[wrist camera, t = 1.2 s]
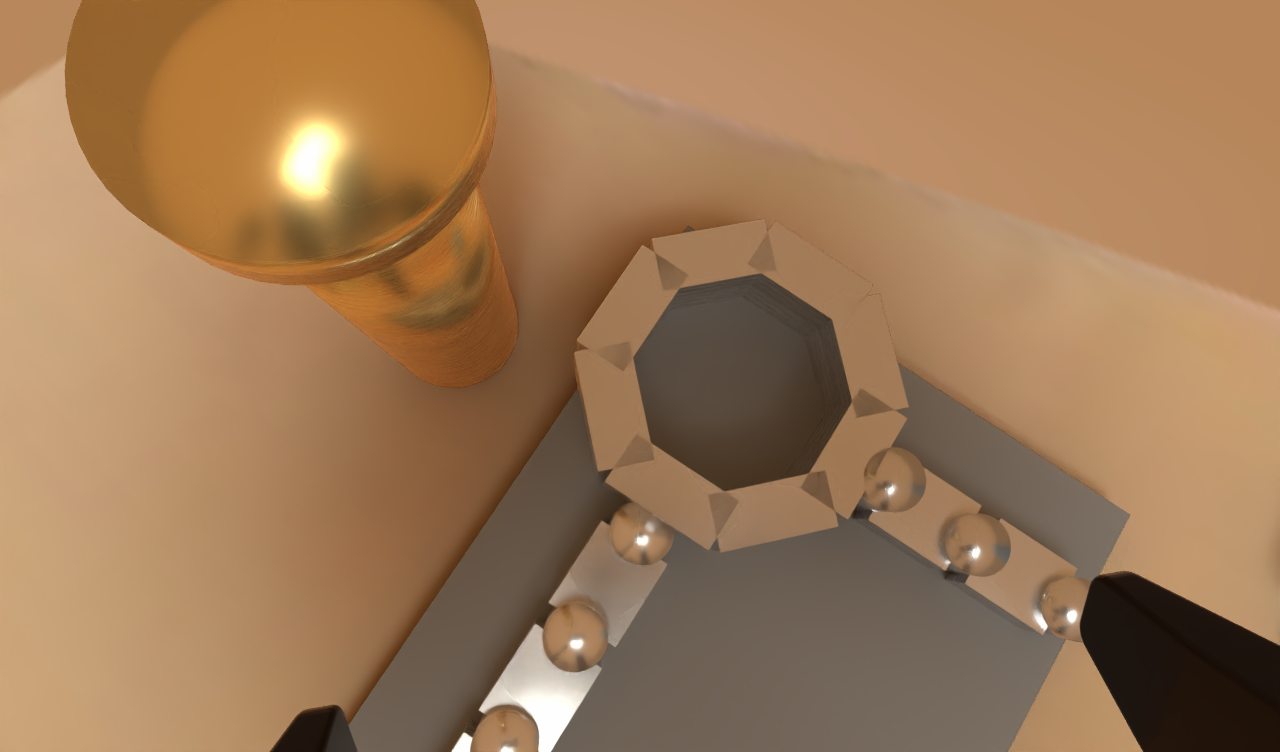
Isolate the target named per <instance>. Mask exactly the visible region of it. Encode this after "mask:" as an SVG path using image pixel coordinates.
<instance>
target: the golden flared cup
mask: <svg viewBox="0 0 1280 752" xmlns="http://www.w3.org/2000/svg"><path fill="white" fill-rule="evenodd" d="M65 86H66V98H67V104H68V109H69V114H70V119H71V123H72V125H73V128H74V131H75V134H76V137H77V140H78V142H79V145H80V147H81V149H82V151H83V153H84V154H85V156H86V158H87V160H88V162H89V164H90V166H91V168H92V169H93V170H94V172H95V173H96V175H97V176H98V177H99V179H100V180H101V181H102V183H103V184H104V185H105V187H106V188H107V189H108V190H109V191H110V192H111V193H112V194H113V196H114V197H115V198H116V199H117V200H118V201H119V202H120V203H121V204H122V205H123V206H124V207H125V208H126V209H128V210H129V211H130V212H131V213H133V214H134V215H135V216H137V217H138V218H139V219H141V220H142V221H143V222H145V223H146V224H147V225H148V226H150V227H152V228H153V229H155V230H156V231H158V232H159V233H161V234H162V235H164V236H165V237H167V238H168V239H170V240H171V241H173V242H174V243H176V244H177V245H179V246H180V247H182V248H183V249H185V250H187V251H188V252H190V253H191V254H193V255H195V256H196V257H198V258H200V259H202V260H203V261H205V262H207V263H209V264H210V265H212V266H215V267H217V268H220V269H222V270H225V271H227V272H229V273H232V274H234V275H238V276H241V277H245V278H249V279H253V280H256V281H260V282H267V283H275V284H282V285H306V286H307V287H308V288H310V289H311V290H312V291H313V292H315V293H316V294H317V295H318V296H319V297H321V298H322V299H323V300H324V301H325V302H327V303H328V304H329V305H330V306H332V307H333V308H334V309H335V310H336V311H338V312H339V313H340V314H341V315H343V316H344V317H345V318H346V319H347V320H349V321H350V322H351V323H352V324H354V325H355V326H356V327H357V328H358V329H360V330H361V331H362V332H363V333H365V334H366V335H367V336H368V337H369V338H371V339H372V340H373V341H374V342H376V343H377V344H378V345H379V346H380V347H382V348H383V349H384V350H385V351H387V352H388V353H389V354H390V355H391V356H393V357H394V358H395V359H396V360H398V361H399V362H400V363H401V364H402V365H404V366H405V367H406V368H407V369H409V370H410V371H411V372H412V373H414V374H415V375H416V376H417V377H419V378H421V379H422V380H424V381H426V382H429V383H431V384H434V385H438V386H442V387H466V386H470V385H474V384H476V383H479V382H481V381H483V380H485V379H487V378H489V377H490V376H492V375H493V374H494V373H496V372H497V371H498V370H499V369H500V368H501V367H502V366H503V365H504V364H505V362H506V361H507V360H508V358H509V356H510V355H511V353H512V351H513V349H514V346H515V343H516V340H517V335H518V316H517V311H516V307H515V304H514V301H513V297H512V294H511V290H510V287H509V284H508V280H507V277H506V274H505V270H504V267H503V264H502V260H501V257H500V254H499V250H498V247H497V244H496V240H495V237H494V233H493V230H492V227H491V223H490V220H489V217H488V213H487V210H486V207H485V203H484V200H483V197H482V193H481V190H480V187H479V183H478V182H479V179H480V177H481V175H482V173H483V171H484V169H485V167H486V164H487V161H488V157H489V154H490V151H491V148H492V144H493V138H494V132H495V126H496V101H497V100H496V92H495V83H494V76H493V71H492V66H491V60H490V55H489V50H488V44H487V39H486V34H485V30H484V27H483V23H482V19H481V16H480V12H479V9H478V7H477V5H476V2H475V0H82V3H81V5H80V7H79V10H78V12H77V14H76V16H75V19H74V22H73V26H72V30H71V34H70V37H69V42H68V46H67V55H66V64H65Z"/></svg>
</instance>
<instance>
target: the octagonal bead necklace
mask: <svg viewBox="0 0 1280 752" xmlns="http://www.w3.org/2000/svg"><path fill="white" fill-rule="evenodd" d="M872 286H873V284H872V283H870V282H869V281H867V280H866V279H864V278H862V277H861V276H859V275H858V274H856V273H855V272H853V271H852V270H850V269H849V268H847V267H846V266H844V265H843V264H841V263H839V262H838V261H836V260H835V259H833V258H832V257H830V256H829V255H827V254H826V253H824V252H823V251H821V250H820V249H818V248H816V247H815V246H813V245H812V244H810V243H809V242H807V241H806V240H804V239H803V238H801V237H800V236H798V235H797V234H795V233H793V232H792V231H790V230H789V229H787V228H786V227H784V226H783V225H781V224H780V223H778V222H777V221H775V223H774V224H773V225H772V227H771V228H770V230H769V231H768V230H767V226H766V222H765V219H760V220H754V221H749V222H743V223H737V224H732V225H726V226H720V227H715V228H709V229H703V230H698V231H692V232H686V233H681V234H675V235H669V236H664V237H658V238H652V239H651V243H650V246H649V249H648V248H647V247H645V246H644V245H642V246H641V247H640V249H639V250H638V252H637V253H636V254H635V256H634V257H633V259H632V260H631V262H630V263H629V265H628V266H627V268H626V269H625V270H624V272H623V273H622V275H621V276H620V278H619V279H618V281H617V282H616V284H615V285H614V286H613V288H612V289H611V291H610V292H609V294H608V295H607V297H606V298H605V300H604V301H603V302H602V304H601V305H600V307H599V308H598V310H597V311H596V313H595V314H594V315H593V317H592V318H591V320H590V321H589V323H588V324H587V326H586V327H585V329H584V330H583V331H582V333H581V334H580V336H579V337H578V339H577V340H576V351H575V352H574V370H575V375H576V380H577V385H578V390H579V395H580V400H581V405H582V410H583V415H584V420H585V425H586V430H587V435H588V440H589V445H590V450H591V455H592V460H593V465H594V470H595V475H599V474H604V473H608V475H607V476H606V478H605V479H604V481H603V483H602V485H603V486H605V487H606V488H608V489H609V490H611V491H612V492H614V493H615V494H617V495H618V496H620V497H622V498H623V499H625V500H626V501H628V502H627V503H625V504H623V505H622V506H620V507H619V508H618V509H617V510H616V511H615V512H614V513H613V515H612V517H611V519H610V521H609V525H608V524H607V523H605V522H604V521H602V520H600V521H599V523H598V524H597V526H596V527H595V529H594V530H593V532H592V533H591V535H590V536H589V538H588V540H587V541H586V543H585V544H584V546H583V547H582V549H581V550H580V552H579V553H578V555H577V556H576V558H575V559H574V561H573V563H572V564H571V566H570V567H569V569H568V570H567V572H566V573H565V575H564V576H563V578H562V579H561V581H560V583H559V584H558V586H557V587H556V589H555V590H554V592H553V593H552V595H551V596H550V599H549V603H550V604H552V605H553V606H554V607H553V608H552V609H551V610H550V612H549V614H548V616H547V618H546V622H544V621H542V620H541V619H539V618H538V617H537V618H536V619H535V621H534V622H533V624H532V626H531V627H530V629H529V630H528V632H527V633H526V635H525V636H524V638H523V639H522V641H521V642H520V644H519V646H518V647H517V649H516V650H515V652H514V653H513V655H512V656H511V658H510V659H509V661H508V662H507V664H506V666H505V667H504V669H503V670H502V672H501V673H500V675H499V676H498V678H497V679H496V681H495V682H494V684H493V686H492V687H491V689H490V690H489V692H488V693H487V695H486V696H485V698H484V700H483V702H482V704H481V706H480V708H479V711H481V712H482V713H484V714H483V715H482V717H481V720H480V722H479V724H477V723H475V722H474V721H472V720H471V719H470V721H469V722H468V724H467V725H466V727H465V729H464V730H463V732H462V733H461V735H460V736H459V738H458V739H457V741H456V742H455V744H454V745H453V747H452V749H451V750H450V752H538V750H539V751H540V752H550V751H551V750H552V748H553V746H554V745H555V743H556V742H557V740H558V738H559V737H560V735H561V734H562V732H563V731H564V729H565V727H566V726H567V724H568V723H569V721H570V719H571V718H572V716H573V715H574V713H575V711H576V710H577V708H578V707H579V705H580V703H581V702H582V700H583V699H584V697H585V695H586V694H587V692H588V691H589V689H590V687H591V686H592V684H593V683H594V681H595V679H596V678H597V676H598V675H599V673H600V671H601V670H602V664H601V658H602V657H603V655H604V653H605V651H606V648H607V645H608V643H610V644H611V645H613V646H614V647H616V646H617V644H618V643H619V641H620V640H621V638H622V636H623V635H624V633H625V632H626V630H627V628H628V627H629V625H630V624H631V622H632V620H633V619H634V617H635V616H636V614H637V612H638V611H639V609H640V608H641V606H642V604H643V603H644V601H645V600H646V598H647V596H648V595H649V593H650V592H651V590H652V588H653V587H654V585H655V584H656V582H657V580H658V579H659V577H660V576H661V574H662V572H663V571H664V569H665V568H666V566H667V563H665V562H664V561H662V560H661V559H662V558H663V557H664V556H665V555H666V554H667V553H668V552H669V550H670V548H671V546H672V544H673V540H674V533H676V534H677V535H679V536H680V537H682V538H683V539H685V540H686V541H688V542H689V543H691V544H692V545H694V546H696V547H699V548H702V549H705V550H708V551H709V549H710V550H713V551H716V552H720V553H722V552H726V551H731V550H735V549H740V548H744V547H749V546H753V545H758V544H762V543H767V542H771V541H776V540H780V539H785V538H789V537H794V536H798V535H803V534H807V533H812V532H816V531H821V530H825V529H830V528H834V527H839V526H838V522H837V519H844V520H848V519H849V517H850V515H851V514H852V512H853V510H856V511H857V512H856V514H855V515H854V517H853V520H855V521H856V522H858V523H859V524H861V525H862V526H864V527H865V528H867V529H869V530H870V531H872V532H873V533H875V534H876V535H878V536H879V537H881V538H882V539H884V540H885V541H887V542H888V543H890V544H891V545H893V546H894V547H896V548H897V549H899V550H900V551H902V552H903V553H905V554H906V555H908V556H909V557H911V558H912V559H914V560H916V561H917V562H919V563H920V564H922V565H923V566H925V567H927V568H933V569H938V570H944V571H949V572H948V573H947V575H946V577H945V579H944V580H946V581H947V582H949V583H950V584H952V585H953V586H955V587H956V588H958V589H959V590H961V591H962V592H964V593H966V594H967V595H969V596H970V597H972V598H973V599H975V600H976V601H978V602H979V603H981V604H982V605H984V606H985V607H987V608H988V609H990V610H991V611H993V612H994V613H996V614H997V615H999V616H1000V617H1002V618H1003V619H1005V620H1006V621H1008V622H1009V623H1011V624H1013V625H1014V626H1016V627H1017V628H1019V629H1023V630H1027V631H1030V632H1034V633H1038V634H1041V635H1043V634H1044V633H1046V634H1050V635H1053V636H1057V637H1061V638H1065V639H1068V640H1072V641H1076V642H1083V640H1082V637H1081V634H1080V619H1081V615H1082V612H1083V608H1084V604H1085V601H1086V597H1087V594H1088V590H1089V586H1090V583H1091V581H1089V580H1087V579H1083V578H1077V577H1073V576H1074V575H1075V573H1076V571H1077V569H1078V568H1076V567H1074V566H1073V565H1071V564H1070V563H1068V562H1067V561H1065V560H1064V559H1062V558H1061V557H1059V556H1058V555H1056V554H1055V553H1053V552H1052V551H1050V550H1049V549H1047V548H1046V547H1044V546H1043V545H1041V544H1039V543H1038V542H1036V541H1035V540H1033V539H1032V538H1030V537H1029V536H1027V535H1026V534H1024V533H1023V532H1021V531H1020V530H1018V529H1017V528H1015V527H1014V526H1012V525H1011V524H1009V523H1008V522H1006V521H1004V520H1003V519H1001V518H994V517H992V516H990V515H986V514H981V513H978V511H979V510H980V508H981V506H982V505H980V504H979V503H977V502H976V501H974V500H972V499H971V498H969V497H968V496H966V495H965V494H963V493H962V492H960V491H959V490H957V489H956V488H954V487H953V486H951V485H950V484H948V483H947V482H945V481H944V480H942V479H941V478H939V477H937V476H936V475H934V474H933V473H931V472H930V471H928V470H927V469H925V468H924V467H923V466H922V464H921V462H920V461H919V460H918V458H917V457H916V456H915V455H913V454H912V453H911V452H909V451H907V450H905V449H902V448H897V447H891V446H892V444H893V442H894V441H895V439H896V437H897V435H898V434H899V432H900V430H901V429H902V427H903V425H904V423H905V422H906V420H907V418H906V417H905V416H903V415H902V414H900V413H899V412H897V411H898V410H901V409H904V408H908V407H909V405H908V401H907V398H906V394H905V390H904V386H903V382H902V378H901V374H900V370H899V366H898V363H897V359H896V355H895V351H894V347H893V343H892V339H891V335H890V331H889V328H888V324H887V320H886V316H885V312H884V308H883V304H882V300H881V297H880V294H875V295H870V296H866V295H867V294H868V292H869V290H870V289H871V287H872ZM739 297H743V298H745V299H746V300H748V301H749V302H751V303H752V304H754V305H755V306H757V307H758V308H760V309H761V310H763V311H764V312H766V313H767V314H769V315H771V316H772V317H774V318H775V319H777V320H778V321H780V322H781V323H783V324H784V325H786V326H787V327H789V328H790V329H792V330H793V331H795V332H796V333H798V334H800V335H801V336H803V337H804V338H806V342H807V346H808V351H809V355H810V359H811V363H812V367H813V371H814V375H815V380H816V384H817V388H818V392H819V396H820V400H821V404H822V408H823V414H822V416H821V417H820V419H819V421H818V422H817V424H816V425H815V427H814V429H813V430H812V432H811V434H810V435H809V437H808V439H807V440H806V442H805V444H804V445H803V447H802V448H801V450H800V452H799V453H798V455H797V457H796V458H795V460H794V462H793V463H792V465H791V466H790V468H789V470H788V471H787V473H786V475H785V476H784V477H782V478H777V479H772V480H768V481H763V482H758V483H754V484H749V485H744V486H740V487H735V488H730V489H726V490H721V489H720V488H718V487H717V486H715V485H714V484H712V483H711V482H709V481H708V480H706V479H705V478H703V477H702V476H700V475H699V474H697V473H696V472H694V471H693V470H691V469H690V468H688V467H687V466H685V465H684V464H682V463H681V462H679V461H678V460H676V459H675V458H673V457H671V456H670V455H668V454H667V453H665V452H664V451H662V450H661V449H659V448H658V447H656V446H655V445H653V444H652V443H651V441H650V436H649V432H648V427H647V422H646V417H645V413H644V408H643V403H642V398H641V394H640V389H639V384H638V379H637V375H636V370H635V365H634V362H635V360H636V359H637V357H638V356H639V354H640V353H641V351H642V350H643V348H644V347H645V345H646V344H647V342H648V341H649V339H650V338H651V336H652V335H653V333H654V332H655V330H656V329H657V327H658V326H659V324H660V323H661V321H662V320H663V318H664V317H665V315H666V314H667V312H668V311H669V310H675V309H680V308H686V307H691V306H696V305H702V304H707V303H712V302H718V301H723V300H728V299H734V298H739Z"/></svg>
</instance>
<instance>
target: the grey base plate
mask: <svg viewBox="0 0 1280 752" xmlns="http://www.w3.org/2000/svg"><path fill="white" fill-rule="evenodd" d="M692 231H696V230H694V229H692V228H691V227H689V226H687V228H686V229H685V230H684V232H683V233H686V232H692ZM634 365H635V370H636V375H637V379H638V384H639V389H640V394H641V398H642V403H643V408H644V413H645V417H646V422H647V427H648V432H649V436H650V441H651V443H652V444H653V445H655V446H656V447H658V448H659V449H661V450H662V451H664V452H665V453H667V454H668V455H670V456H671V457H673V458H675V459H676V460H678V461H679V462H681V463H682V464H684V465H685V466H687V467H688V468H690V469H691V470H693V471H694V472H696V473H697V474H699V475H700V476H702V477H703V478H705V479H706V480H708V481H709V482H711V483H712V484H714V485H715V486H717V487H718V488H720V489H721V490H726V489H730V488H735V487H740V486H744V485H749V484H754V483H758V482H763V481H768V480H772V479H777V478H782V477H784V476H785V475H786V473H787V471H788V470H789V468H790V466H791V465H792V463H793V462H794V460H795V458H796V457H797V455H798V453H799V452H800V450H801V448H802V447H803V445H804V444H805V442H806V440H807V439H808V437H809V435H810V434H811V432H812V430H813V429H814V427H815V425H816V424H817V422H818V421H819V419H820V417H821V416H822V414H823V408H822V404H821V400H820V396H819V392H818V388H817V384H816V380H815V375H814V371H813V367H812V363H811V359H810V355H809V351H808V346H807V342H806V338H804V337H803V336H801V335H800V334H798V333H796V332H795V331H793V330H792V329H790V328H789V327H787V326H786V325H784V324H783V323H781V322H780V321H778V320H777V319H775V318H774V317H772V316H771V315H769V314H767V313H766V312H764V311H763V310H761V309H760V308H758V307H757V306H755V305H754V304H752V303H751V302H749V301H748V300H746V299H745V298H743V297H739V298H734V299H728V300H723V301H718V302H712V303H707V304H702V305H696V306H691V307H686V308H680V309H675V310H669V311H668V312H667V314H666V315H665V317H664V318H663V320H662V321H661V323H660V324H659V326H658V327H657V329H656V330H655V332H654V333H653V335H652V336H651V338H650V339H649V341H648V342H647V344H646V345H645V347H644V348H643V350H642V351H641V353H640V354H639V356H638V357H637V359H636V360H635V362H634ZM898 366H899V370H900V374H901V378H902V382H903V386H904V390H905V394H906V398H907V401H908V405H909V407H908V408H904V409H901V410H898V411H897V412H899V413H900V414H902V415H903V416H905V417H906V418H907V420H906V422H905V423H904V425H903V427H902V429H901V430H900V432H899V434H898V435H897V437H896V439H895V441H894V442H893V444H892V446H891V447H897V448H902V449H905V450H907V451H909V452H911V453H912V454H913V455H915V456H916V457H917V458H918V460H919V461H920V462H921V464H922V466H923V467H924V468H925V469H927V470H928V471H930V472H931V473H933V474H934V475H936V476H937V477H939V478H941V479H942V480H944V481H945V482H947V483H948V484H950V485H951V486H953V487H954V488H956V489H957V490H959V491H960V492H962V493H963V494H965V495H966V496H968V497H969V498H971V499H972V500H974V501H976V502H977V503H979V504H980V505H982V506H981V508H980V510H979V511H978V513H981V514H986V515H990V516H992V517H994V518H1001V519H1003V520H1004V521H1006V522H1008V523H1009V524H1011V525H1012V526H1014V527H1015V528H1017V529H1018V530H1020V531H1021V532H1023V533H1024V534H1026V535H1027V536H1029V537H1030V538H1032V539H1033V540H1035V541H1036V542H1038V543H1039V544H1041V545H1043V546H1044V547H1046V548H1047V549H1049V550H1050V551H1052V552H1053V553H1055V554H1056V555H1058V556H1059V557H1061V558H1062V559H1064V560H1065V561H1067V562H1068V563H1070V564H1071V565H1073V566H1074V567H1076V568H1078V569H1077V571H1076V573H1075V575H1074V576H1073V577H1077V578H1083V579H1087V580H1089V581H1092V580H1093V579H1094V578H1095V577H1096V576H1098V575H1099V574H1100V572H1101V570H1102V568H1103V567H1104V565H1105V563H1106V561H1107V559H1108V557H1109V555H1110V553H1111V551H1112V549H1113V547H1114V545H1115V543H1116V541H1117V539H1118V537H1119V536H1120V534H1121V532H1122V530H1123V528H1124V526H1125V524H1126V522H1127V520H1128V518H1129V516H1130V514H1128V513H1127V512H1125V511H1124V510H1122V509H1121V508H1119V507H1117V506H1116V505H1114V504H1113V503H1111V502H1110V501H1108V500H1107V499H1105V498H1104V497H1102V496H1101V495H1099V494H1098V493H1096V492H1095V491H1093V490H1092V489H1090V488H1088V487H1087V486H1085V485H1084V484H1082V483H1081V482H1079V481H1078V480H1076V479H1075V478H1073V477H1072V476H1070V475H1069V474H1067V473H1066V472H1064V471H1062V470H1061V469H1059V468H1058V467H1056V466H1055V465H1053V464H1052V463H1050V462H1049V461H1047V460H1046V459H1044V458H1043V457H1041V456H1040V455H1038V454H1036V453H1035V452H1033V451H1032V450H1030V449H1029V448H1027V447H1026V446H1024V445H1023V444H1021V443H1020V442H1018V441H1017V440H1015V439H1014V438H1012V437H1010V436H1009V435H1007V434H1006V433H1004V432H1003V431H1001V430H1000V429H998V428H997V427H995V426H994V425H992V424H991V423H989V422H988V421H986V420H984V419H983V418H981V417H980V416H978V415H977V414H975V413H974V412H972V411H971V410H969V409H968V408H966V407H965V406H963V405H962V404H960V403H959V402H957V401H955V400H954V399H952V398H951V397H949V396H948V395H946V394H945V393H943V392H942V391H940V390H939V389H937V388H936V387H934V386H933V385H931V384H929V383H928V382H926V381H925V380H923V379H922V378H920V377H919V376H917V375H916V374H914V373H913V372H911V371H910V370H908V369H907V368H905V367H903V366H902V365H900V364H899V363H898ZM607 475H608V473H604V474H599V475H595V470H594V465H593V460H592V455H591V450H590V445H589V440H588V435H587V430H586V425H585V420H584V415H583V410H582V405H581V400H580V395H579V390H578V388H577V389H576V391H575V392H574V394H573V395H572V397H571V398H570V400H569V401H568V403H567V404H566V406H565V407H564V409H563V410H562V412H561V413H560V414H559V416H558V417H557V419H556V420H555V422H554V423H553V425H552V426H551V428H550V429H549V431H548V432H547V434H546V435H545V437H544V438H543V440H542V441H541V442H540V444H539V445H538V447H537V448H536V450H535V451H534V453H533V454H532V456H531V457H530V459H529V460H528V462H527V463H526V465H525V466H524V467H523V469H522V470H521V472H520V473H519V475H518V476H517V478H516V479H515V481H514V482H513V484H512V485H511V487H510V488H509V490H508V491H507V493H506V494H505V495H504V497H503V498H502V500H501V501H500V503H499V504H498V506H497V507H496V509H495V510H494V512H493V513H492V515H491V516H490V518H489V519H488V520H487V522H486V523H485V525H484V526H483V528H482V529H481V531H480V532H479V534H478V535H477V537H476V538H475V540H474V541H473V543H472V544H471V545H470V547H469V548H468V550H467V551H466V553H465V554H464V556H463V557H462V559H461V560H460V562H459V563H458V565H457V566H456V568H455V569H454V571H453V572H452V573H451V575H450V576H449V578H448V579H447V581H446V582H445V584H444V585H443V587H442V588H441V590H440V591H439V593H438V594H437V596H436V597H435V598H434V600H433V601H432V603H431V604H430V606H429V607H428V609H427V610H426V612H425V613H424V615H423V616H422V618H421V619H420V621H419V622H418V624H417V625H416V626H415V628H414V629H413V631H412V632H411V634H410V635H409V637H408V638H407V640H406V641H405V643H404V644H403V646H402V647H401V649H400V650H399V651H398V653H397V654H396V656H395V657H394V659H393V660H392V662H391V663H390V665H389V666H388V668H387V669H386V671H385V672H384V674H383V675H382V677H381V678H380V679H379V681H378V682H377V684H376V685H375V687H374V688H373V690H372V691H371V693H370V694H369V696H368V697H367V699H366V700H365V702H364V703H363V704H362V706H361V707H360V709H359V710H358V712H357V713H356V715H355V716H354V718H353V719H352V721H351V722H350V724H349V725H348V726H349V728H350V731H351V734H352V737H353V739H354V742H355V745H356V747H357V751H358V752H450V750H451V749H452V747H453V745H454V744H455V742H456V741H457V739H458V738H459V736H460V735H461V733H462V732H463V730H464V729H465V727H466V725H467V724H468V722H469V721H470V719H471V720H472V721H474V722H475V723H477V724H479V722H480V720H481V717H482V715H483V714H484V713H482V712H481V711H479V708H480V706H481V704H482V702H483V700H484V698H485V696H486V695H487V693H488V692H489V690H490V689H491V687H492V686H493V684H494V682H495V681H496V679H497V678H498V676H499V675H500V673H501V672H502V670H503V669H504V667H505V666H506V664H507V662H508V661H509V659H510V658H511V656H512V655H513V653H514V652H515V650H516V649H517V647H518V646H519V644H520V642H521V641H522V639H523V638H524V636H525V635H526V633H527V632H528V630H529V629H530V627H531V626H532V624H533V622H534V621H535V619H536V618H537V617H538V618H539V619H541V620H542V621H544V622H546V618H547V616H548V614H549V612H550V610H551V609H552V608H553V607H554V606H553V605H552V604H550V603H549V599H550V596H551V595H552V593H553V592H554V590H555V589H556V587H557V586H558V584H559V583H560V581H561V579H562V578H563V576H564V575H565V573H566V572H567V570H568V569H569V567H570V566H571V564H572V563H573V561H574V559H575V558H576V556H577V555H578V553H579V552H580V550H581V549H582V547H583V546H584V544H585V543H586V541H587V540H588V538H589V536H590V535H591V533H592V532H593V530H594V529H595V527H596V526H597V524H598V523H599V521H600V520H602V521H604V522H605V523H607V524H608V525H609V521H610V519H611V517H612V515H613V513H614V512H615V511H616V510H617V509H618V508H619V507H620V506H622V505H623V504H625V503H627V502H628V501H626V500H625V499H623V498H622V497H620V496H618V495H617V494H615V493H614V492H612V491H611V490H609V489H608V488H606V487H605V486H603V485H602V483H603V481H604V479H605V478H606V476H607ZM856 512H857V511H856V510H853V512H852V514H851V515H850V517H849V519H848V520H844V519H837V522H838V526H839V527H834V528H830V529H825V530H821V531H816V532H812V533H807V534H803V535H798V536H794V537H789V538H785V539H780V540H776V541H771V542H767V543H762V544H758V545H753V546H749V547H744V548H740V549H735V550H731V551H726V552H722V553H720V552H716V551H713V550H710V549H709V551H708V550H705V549H702V548H699V547H696V546H694V545H692V544H691V543H689V542H688V541H686V540H685V539H683V538H682V537H680V536H679V535H677V534H676V533H674V540H673V544H672V546H671V548H670V550H669V552H668V553H667V554H666V555H665V556H664V557H663V558H662V559H661V560H662V561H664V562H665V563H667V566H666V568H665V569H664V571H663V572H662V574H661V576H660V577H659V579H658V580H657V582H656V584H655V585H654V587H653V588H652V590H651V592H650V593H649V595H648V596H647V598H646V600H645V601H644V603H643V604H642V606H641V608H640V609H639V611H638V612H637V614H636V616H635V617H634V619H633V620H632V622H631V624H630V625H629V627H628V628H627V630H626V632H625V633H624V635H623V636H622V638H621V640H620V641H619V643H618V644H617V646H616V647H614V646H613V645H611V644H610V643H608V645H607V648H606V651H605V653H604V655H603V657H602V658H601V664H602V670H601V671H600V673H599V675H598V676H597V678H596V679H595V681H594V683H593V684H592V686H591V687H590V689H589V691H588V692H587V694H586V695H585V697H584V699H583V700H582V702H581V703H580V705H579V707H578V708H577V710H576V711H575V713H574V715H573V716H572V718H571V719H570V721H569V723H568V724H567V726H566V727H565V729H564V731H563V732H562V734H561V735H560V737H559V738H558V740H557V742H556V743H555V745H554V746H553V748H552V750H551V751H550V752H1008V751H1009V749H1010V747H1011V745H1012V743H1013V741H1014V739H1015V737H1016V735H1017V733H1018V731H1019V729H1020V727H1021V725H1022V723H1023V722H1024V720H1025V718H1026V716H1027V714H1028V712H1029V710H1030V708H1031V706H1032V704H1033V702H1034V700H1035V698H1036V696H1037V694H1038V692H1039V691H1040V689H1041V687H1042V685H1043V683H1044V681H1045V679H1046V677H1047V675H1048V673H1049V671H1050V669H1051V667H1052V665H1053V663H1054V661H1055V660H1056V658H1057V656H1058V654H1059V652H1060V650H1061V648H1062V646H1063V644H1064V642H1065V640H1066V639H1065V638H1061V637H1057V636H1053V635H1050V634H1046V633H1044V634H1043V635H1041V634H1038V633H1034V632H1030V631H1027V630H1023V629H1019V628H1017V627H1016V626H1014V625H1013V624H1011V623H1009V622H1008V621H1006V620H1005V619H1003V618H1002V617H1000V616H999V615H997V614H996V613H994V612H993V611H991V610H990V609H988V608H987V607H985V606H984V605H982V604H981V603H979V602H978V601H976V600H975V599H973V598H972V597H970V596H969V595H967V594H966V593H964V592H962V591H961V590H959V589H958V588H956V587H955V586H953V585H952V584H950V583H949V582H947V581H946V580H944V579H945V577H946V575H947V573H948V572H949V571H944V570H938V569H933V568H927V567H925V566H923V565H922V564H920V563H919V562H917V561H916V560H914V559H912V558H911V557H909V556H908V555H906V554H905V553H903V552H902V551H900V550H899V549H897V548H896V547H894V546H893V545H891V544H890V543H888V542H887V541H885V540H884V539H882V538H881V537H879V536H878V535H876V534H875V533H873V532H872V531H870V530H869V529H867V528H865V527H864V526H862V525H861V524H859V523H858V522H856V521H855V520H853V517H854V515H855V514H856ZM538 752H540V751H539V750H538Z"/></svg>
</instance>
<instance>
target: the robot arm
mask: <svg viewBox="0 0 1280 752" xmlns="http://www.w3.org/2000/svg"><path fill="white" fill-rule="evenodd" d="M1080 634H1081V637H1082V640H1083V643H1084V645H1085V647H1086V649H1087V651H1088V652H1089V654H1090V656H1091V658H1092V660H1093V662H1094V663H1095V665H1096V667H1097V669H1098V671H1099V673H1100V674H1101V676H1102V678H1103V680H1104V682H1105V683H1106V685H1107V687H1108V689H1109V691H1110V693H1111V694H1112V696H1113V698H1114V700H1115V702H1116V704H1117V705H1118V707H1119V709H1120V711H1121V713H1122V715H1123V716H1124V718H1125V720H1126V722H1127V724H1128V726H1129V727H1130V729H1131V731H1132V733H1133V735H1134V737H1135V738H1136V740H1137V742H1138V744H1139V745H1140V747H1141V749H1142V750H1143V752H1280V645H1278V644H1276V643H1274V642H1272V641H1270V640H1267V639H1265V638H1263V637H1261V636H1259V635H1257V634H1255V633H1253V632H1251V631H1249V630H1247V629H1245V628H1243V627H1241V626H1239V625H1237V624H1235V623H1233V622H1231V621H1229V620H1227V619H1225V618H1223V617H1221V616H1219V615H1217V614H1215V613H1213V612H1211V611H1209V610H1207V609H1205V608H1203V607H1201V606H1199V605H1197V604H1195V603H1193V602H1191V601H1189V600H1187V599H1185V598H1183V597H1181V596H1179V595H1177V594H1175V593H1173V592H1171V591H1169V590H1167V589H1165V588H1163V587H1161V586H1159V585H1157V584H1155V583H1153V582H1151V581H1149V580H1147V579H1145V578H1143V577H1141V576H1139V575H1137V574H1135V573H1132V572H1128V571H1120V572H1114V573H1108V574H1102V575H1098V576H1096V577H1095V578H1094V579H1093V580H1092V581H1091V583H1090V586H1089V590H1088V594H1087V597H1086V601H1085V604H1084V608H1083V612H1082V615H1081V619H1080ZM270 752H358V751H357V747H356V745H355V742H354V739H353V737H352V734H351V731H350V728H349V726H348V723H347V720H346V717H345V715H344V712H343V710H342V709H341V708H340V707H339V706H337V705H329V706H323V707H317V708H311V709H307V710H304V711H302V712H301V713H299V714H298V715H297V716H296V717H295V719H294V720H293V721H292V723H291V724H290V725H289V727H288V728H287V729H286V731H285V732H284V733H283V735H282V736H281V737H280V739H279V740H278V741H277V743H276V744H275V745H274V747H273V748H272V749H271V751H270Z"/></svg>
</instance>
